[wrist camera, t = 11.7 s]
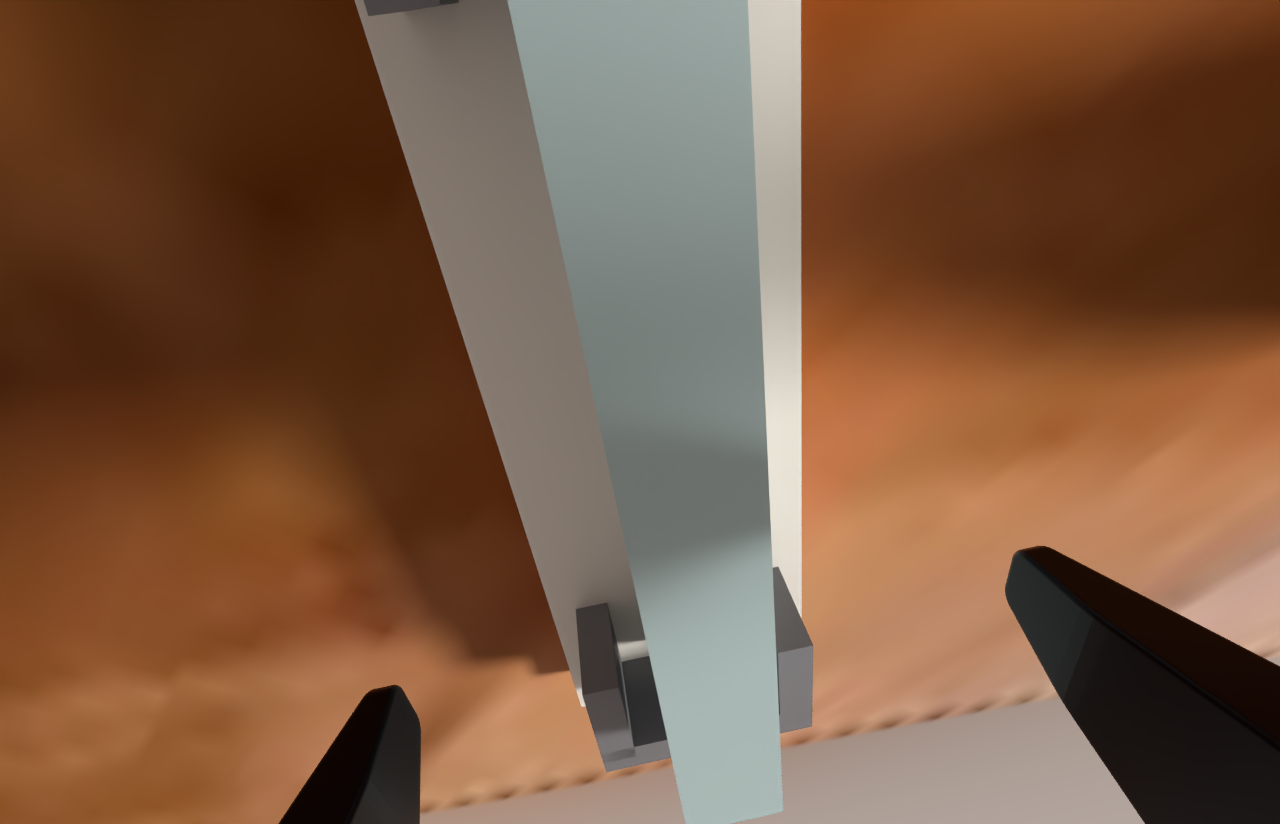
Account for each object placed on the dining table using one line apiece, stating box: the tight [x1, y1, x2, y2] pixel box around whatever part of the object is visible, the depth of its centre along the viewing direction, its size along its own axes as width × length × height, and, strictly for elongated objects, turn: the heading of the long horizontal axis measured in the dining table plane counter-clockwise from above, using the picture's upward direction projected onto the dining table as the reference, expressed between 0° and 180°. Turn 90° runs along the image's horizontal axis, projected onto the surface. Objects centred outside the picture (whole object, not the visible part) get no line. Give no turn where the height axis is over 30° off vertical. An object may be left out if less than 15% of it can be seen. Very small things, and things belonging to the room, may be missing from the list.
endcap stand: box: [355, 0, 813, 772], centre depth 15 cm, size 8×26×4 cm, turn 8°
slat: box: [507, 0, 783, 824], centre depth 14 cm, size 2×20×6 cm, turn 8°
